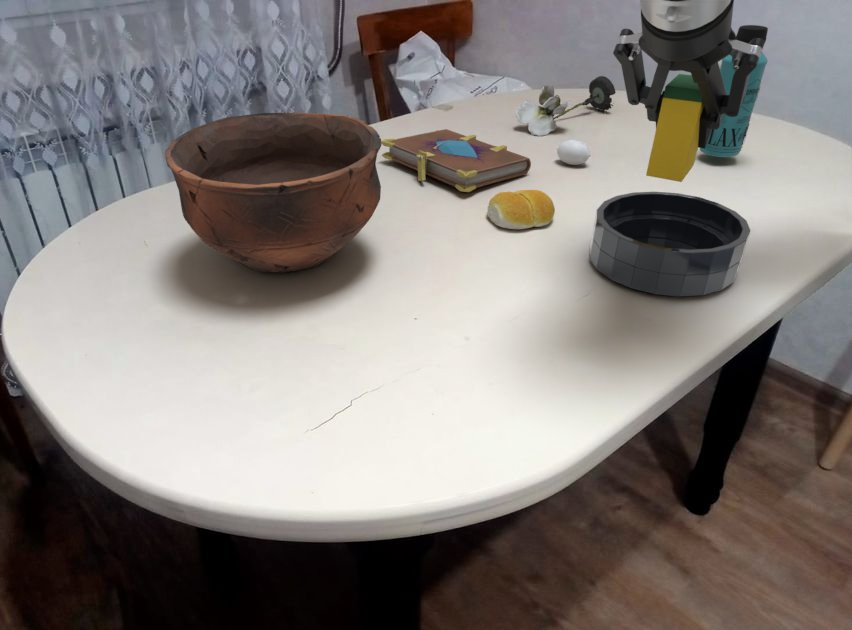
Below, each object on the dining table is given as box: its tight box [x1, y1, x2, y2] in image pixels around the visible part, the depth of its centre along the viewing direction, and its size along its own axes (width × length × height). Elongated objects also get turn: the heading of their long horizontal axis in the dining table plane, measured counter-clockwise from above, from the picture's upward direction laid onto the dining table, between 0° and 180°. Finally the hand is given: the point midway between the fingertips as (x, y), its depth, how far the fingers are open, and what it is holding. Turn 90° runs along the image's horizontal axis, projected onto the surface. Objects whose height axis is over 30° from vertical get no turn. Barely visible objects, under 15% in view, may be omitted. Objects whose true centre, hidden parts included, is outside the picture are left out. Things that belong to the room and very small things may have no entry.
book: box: [381, 128, 532, 193], centre depth 108 cm, size 16×25×5 cm, turn 37°
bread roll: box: [486, 189, 556, 230], centre depth 90 cm, size 8×9×4 cm
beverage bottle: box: [699, 24, 769, 158], centre depth 102 cm, size 6×7×20 cm
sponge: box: [645, 73, 704, 183], centre depth 74 cm, size 4×6×10 cm, turn 147°
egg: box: [556, 139, 591, 166], centre depth 107 cm, size 4×6×4 cm, turn 52°
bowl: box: [164, 112, 382, 274], centre depth 80 cm, size 25×25×15 cm
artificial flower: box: [515, 75, 617, 137], centre depth 124 cm, size 9×22×10 cm, turn 123°
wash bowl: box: [589, 191, 751, 297], centre depth 78 cm, size 17×17×6 cm
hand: (684, 134), depth 78 cm, fingers closed on sponge, 4 cm apart
